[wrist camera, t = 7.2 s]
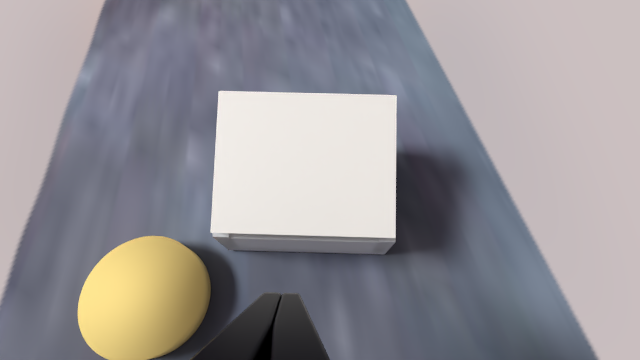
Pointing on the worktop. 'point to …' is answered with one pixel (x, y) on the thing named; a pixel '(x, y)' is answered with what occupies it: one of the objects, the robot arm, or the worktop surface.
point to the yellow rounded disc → (143, 299)
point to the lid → (305, 164)
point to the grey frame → (304, 243)
